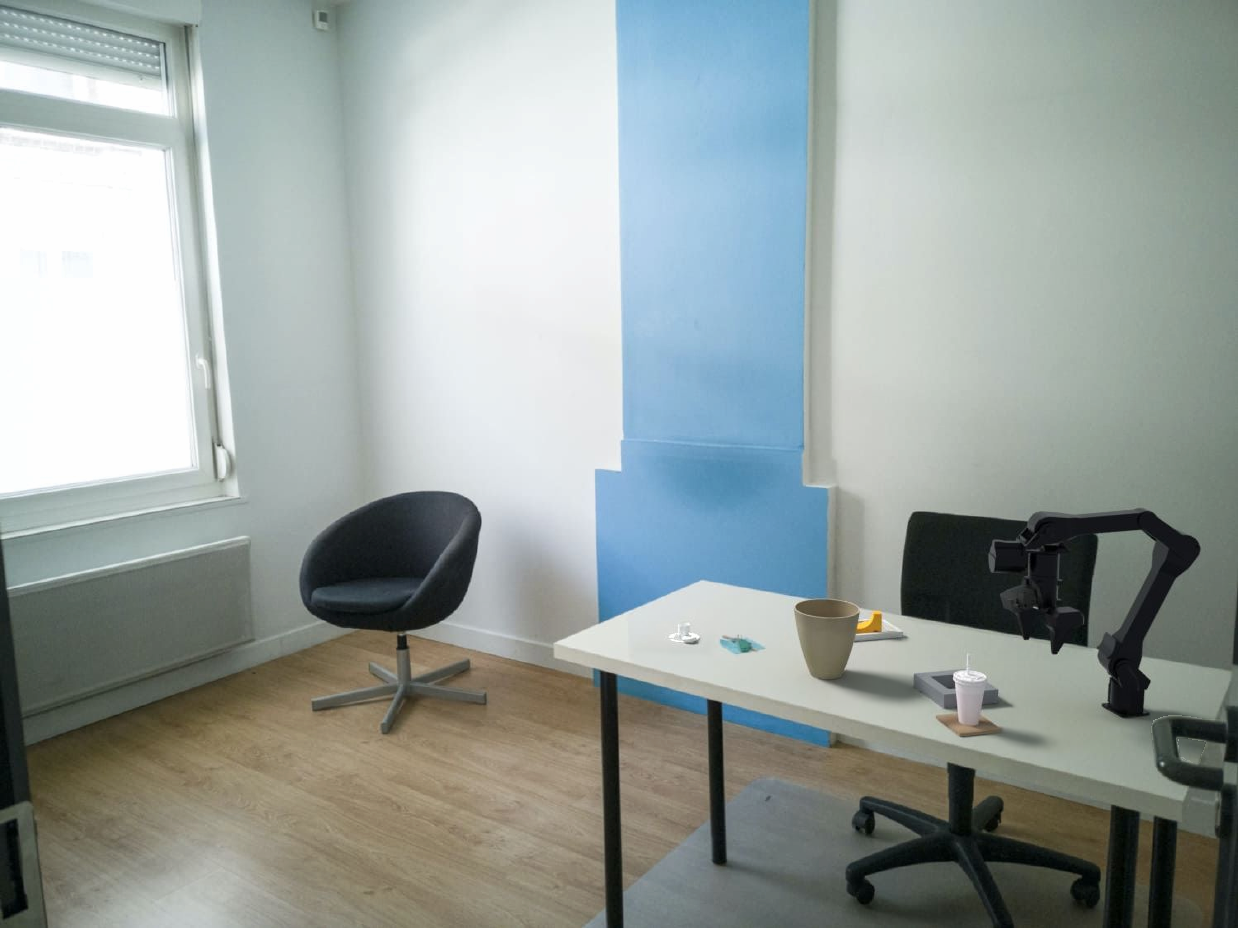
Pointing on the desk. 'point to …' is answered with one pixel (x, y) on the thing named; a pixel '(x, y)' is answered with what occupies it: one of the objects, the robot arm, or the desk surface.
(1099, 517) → the robot arm
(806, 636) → the plant pot
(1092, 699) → the desk surface
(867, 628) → the pipe clamp
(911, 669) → the desk surface
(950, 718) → the pad
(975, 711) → the smoothie
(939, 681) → the dock
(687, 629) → the teacup and saucer
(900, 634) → the tray
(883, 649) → the desk surface
